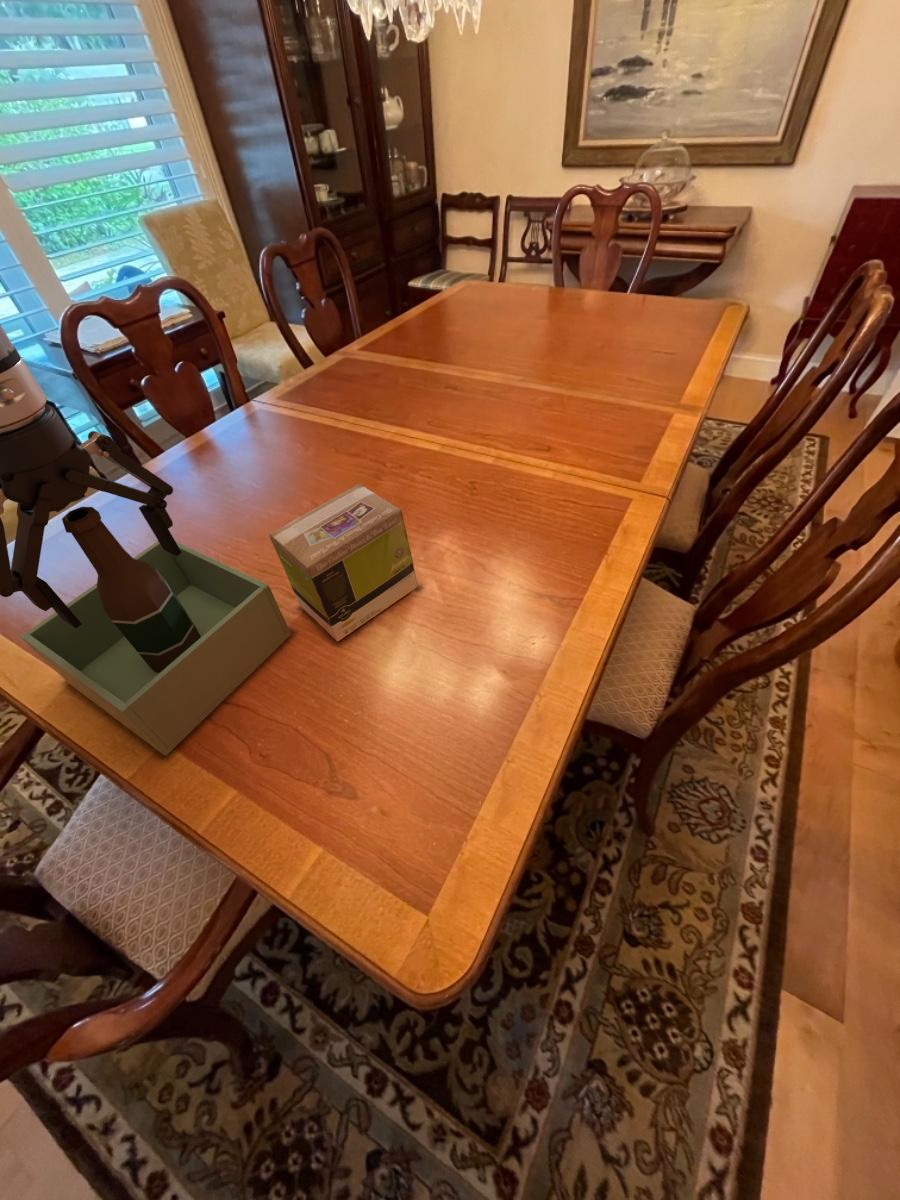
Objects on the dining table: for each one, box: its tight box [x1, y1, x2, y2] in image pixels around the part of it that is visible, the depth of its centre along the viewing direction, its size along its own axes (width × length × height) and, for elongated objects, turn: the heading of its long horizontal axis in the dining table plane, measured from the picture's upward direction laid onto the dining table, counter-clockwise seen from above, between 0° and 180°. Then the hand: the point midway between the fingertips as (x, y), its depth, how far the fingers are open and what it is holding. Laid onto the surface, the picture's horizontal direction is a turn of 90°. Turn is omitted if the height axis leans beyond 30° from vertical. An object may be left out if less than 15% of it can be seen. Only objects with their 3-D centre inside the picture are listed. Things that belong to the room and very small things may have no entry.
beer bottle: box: [61, 506, 201, 673], centre depth 65 cm, size 8×8×24 cm
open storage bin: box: [19, 540, 292, 757], centre depth 71 cm, size 22×22×10 cm
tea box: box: [268, 483, 419, 642], centre depth 74 cm, size 15×10×15 cm, turn 132°
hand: (125, 584), depth 64 cm, fingers open, 13 cm apart
